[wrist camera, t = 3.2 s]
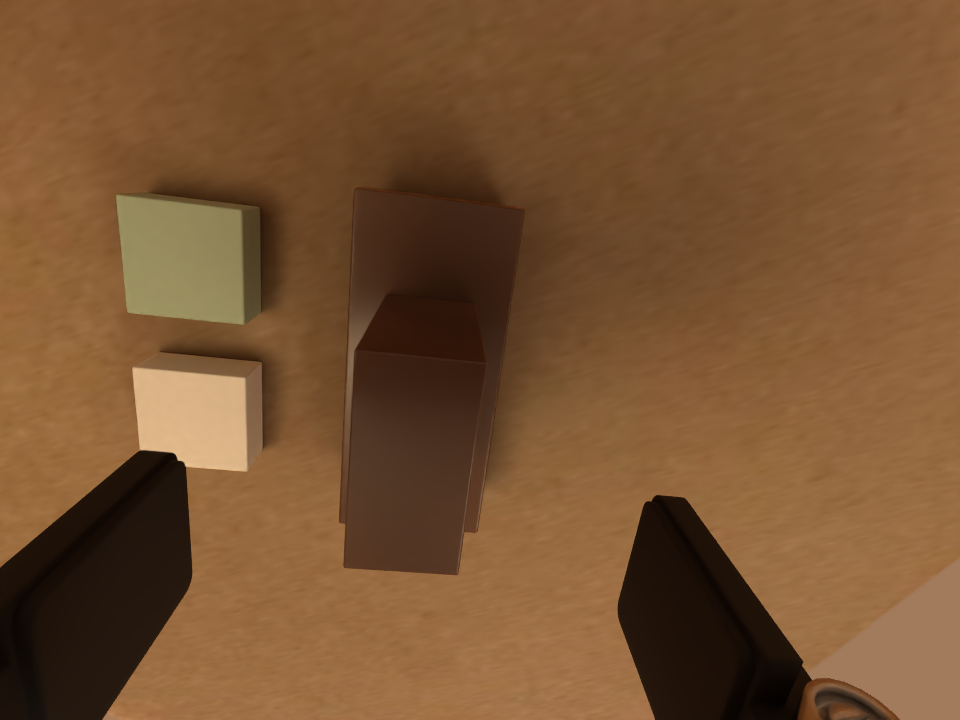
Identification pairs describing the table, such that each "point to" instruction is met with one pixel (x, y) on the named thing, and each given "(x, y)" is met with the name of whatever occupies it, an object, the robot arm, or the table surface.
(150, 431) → the chip
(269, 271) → the table surface
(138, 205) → the chip
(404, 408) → the brown inverted t block
